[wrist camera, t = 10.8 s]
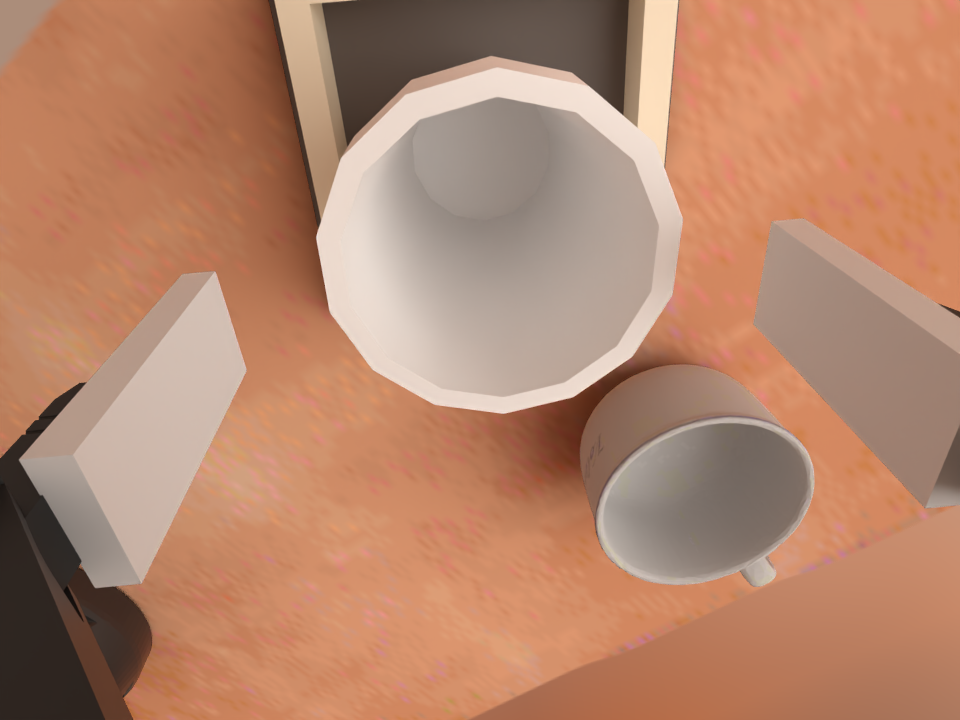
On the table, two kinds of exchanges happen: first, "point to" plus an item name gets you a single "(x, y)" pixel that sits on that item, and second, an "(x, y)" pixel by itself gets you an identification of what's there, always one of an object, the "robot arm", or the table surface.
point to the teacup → (692, 477)
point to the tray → (462, 58)
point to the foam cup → (498, 237)
